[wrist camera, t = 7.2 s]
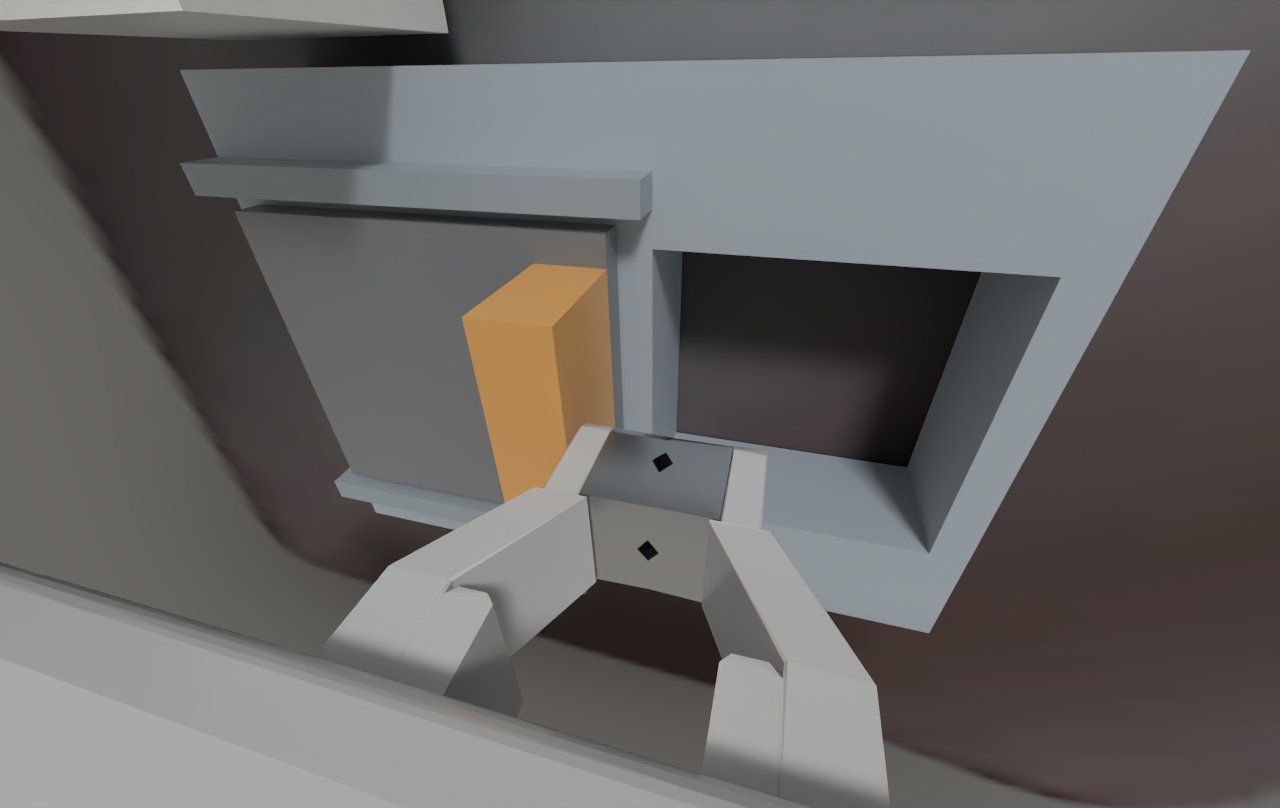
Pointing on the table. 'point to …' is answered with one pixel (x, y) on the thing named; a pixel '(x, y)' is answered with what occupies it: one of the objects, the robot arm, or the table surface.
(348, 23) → the white block
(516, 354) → the shutter
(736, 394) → the table surface
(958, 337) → the socket
